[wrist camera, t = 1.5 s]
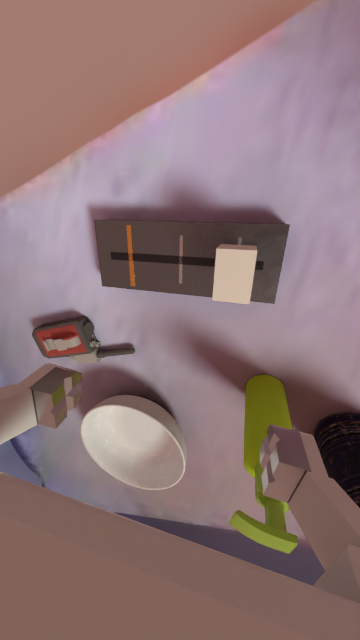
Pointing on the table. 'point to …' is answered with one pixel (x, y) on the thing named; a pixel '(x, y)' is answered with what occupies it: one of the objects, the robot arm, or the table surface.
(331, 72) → the table surface
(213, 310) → the table surface
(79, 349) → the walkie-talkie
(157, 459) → the serving bowl
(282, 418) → the soap dispenser
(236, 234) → the fader panel
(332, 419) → the black ridged cylinder
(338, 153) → the table surface
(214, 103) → the table surface
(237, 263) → the fader knob
